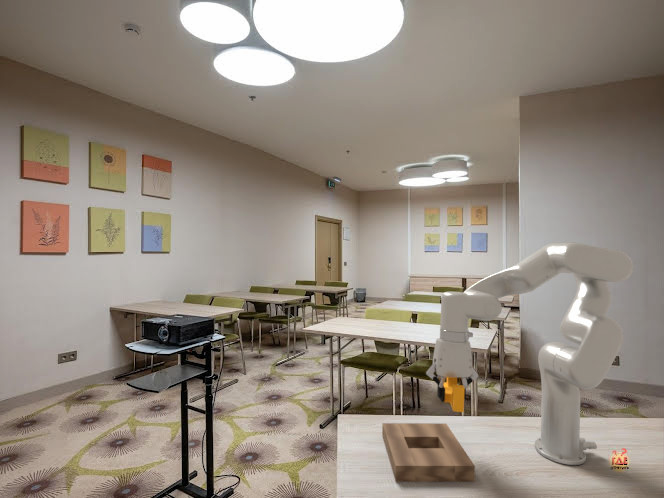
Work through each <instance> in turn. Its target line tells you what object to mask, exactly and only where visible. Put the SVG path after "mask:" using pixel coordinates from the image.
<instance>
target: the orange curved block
mask: <svg viewBox="0 0 664 498" xmlns="http://www.w3.org/2000/svg"><path fill="white" fill-rule="evenodd" d="M444 388H445V402H444V403H449V404H450V407H451V409H452V411H453V412H458V413H465V412H464V410H465V409H464V408H465V398H464V390H465V388H464V386H463V385H459V384H458V378H452V377H446V382H444Z"/></svg>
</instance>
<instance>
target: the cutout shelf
mask: <svg viewBox="0 0 664 498" xmlns="http://www.w3.org/2000/svg"><path fill="white" fill-rule="evenodd" d="M381 425H382V426H381V427H382V433H381V434H382V435H381V436H382V439H383V444H384V447H385V449H386V453H387V457H388V460H389V463H390V467H391V470H392V473H393V476H394V477H393V478H394V481H395V483H396V482H397V483H398V482H409V483H410V482H415V483H416V482H417V483H418V482H421V483H423V482H427V483H428V482H430V483H431V482H436V483H437V482H441V483H443V482H445V483H446V482H447V483H449V482H454V483H455V482H459V483H460V482H462V483H463V482H466V483H470V482H471V483H473V482H475V479H476V477H475V476H476V475H475V473H476V472H475V471H476V468H475V467H476V465H475V464H474V462H473V461H472V459H471V458H470V457H469V455H468V454H467V452H466V451H465V449H464V447H463V446H462V445H461V443H460V442H459V440H458V439H457V437H456V435H455V434H454V433H453V431H452V429H450V427H449V425H448V424H447V423H436V422H435V423H433V422H432V423H429V422H428V423H417V422H416V423H412V422H411V423H410V422H409V423H408V422H407V423H406V422H405V423H404V422H401V423H397V422H395V423H394V422H393V423H392V422H388V423H387V422H385V423H382V424H381Z"/></svg>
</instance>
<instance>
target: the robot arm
mask: <svg viewBox="0 0 664 498" xmlns="http://www.w3.org/2000/svg"><path fill="white" fill-rule="evenodd" d="M633 270H634V263H633V260H632V259H631V257H630V256H629V255H628V254H626V253H625V252H623V251H619V250H616V249H610V248H605V247H602V246H601V247H600V246H598V245H597V246H595V245H592V244H587V243H582V242H551V243H548V244H546V245H544V246H542V247H541V248H539V249H538V250H536V251H534V252H533V253H531V254H530V255H528V256H527V257H525V258H524V259H522V260H520V261H519V262H518V263H516V264H514V265H513V266H511V267H508V268H506V269H503V270H500V271H499V272H497V273H494V274H491V275H489V276H487V277H485V278H483V279H481V280H479V281H477V282H476V283H474V284H472V285H471V286H470V287H468V288H466V289H465V290H464V291H463V292H462V291H445V292H443V293H442V295H441V302H440V303H441V304H440V327H439V338H436V341H435V344H434V349H433V357H432V364H431V365H430V367H429V368H428V369H427V370H426V372H425V375H426V376H427V377H429V378H430V379H431V380H432V381H434V383H436V385H437V392H436V394H437V397H438V399H439V400H440V401H441V403H446V402H445V388H444V383H446V380H447V377H452V378H457V379H458V381H459V384H458V385H463V386H464V388H465V390H464V399H466V397H467V388H468V387H469V386H470V384H472V383H473V381H475V380H476V379H477V378H479V373H478V372H477V371H476V369H475V367H473V354H472V345H471V343H470V342H471V341H469V340H470V339H471V338H473V336H474V333H473V332H470V331H469V326H470V325H469V324H470V323H469V321H470V319H471V320H472V319H473V320H477V321H485V322H487V321H488V322H489V321H493V320H496V319H497V318H499V316H500V315H501V314H502V310H503V307H502V303H501V301H500V300H499V299H501V298H505V297H507V296H515V295H522V294H527V293H531V292H533V291H535V290H537V289H538V288H540V287H541V286H542V285H544V284H545V283H548V282H549V281H551V280H552V279H554V278H555V277H556V276H559V275H560V274H562V273H563V274H564V273H565V274H572V275H573V276H574V278H575V281H576V293H575V295H574V298H573V300H572V302H571V303H570V305H569V307H568V309H567V311H566V313H565V315H564V317H563V318H562V321H561V322H560V325H559V333H560V334H561V335H562V336H563V338H565V339H566V340H568V341H570V342H571V343H574V344H577V345H579V347H578V348H577V347H574V346H573V345H569V344H566V343H564V342H559V341H550V342H547V343H545V344H544V345H543V346H541V348H540V349H539V352H538V356H537V357H538V358H537V359H538V361H537V362H538V367H539V372H540V379H541V380H540V381H541V382H540V383H541V384H540V385H541V400H540V401H541V405H540V418H541V419H540V438H537V439H535V441H534V449H535V450H536V452H538V453H539V454H540V455H541V456H543V457H545V458H546V459H548V460H550V461H553V462H556V463H560V464H563V465H571V466H578V465H583V464H584V463H586V460H587V455H586V453H585V451H586V450H597V449H598V445H597V443H596V442H595V441H587V440H586V438H584V437H581V436H580V435H581V427H580V426H581V392H580V389H583V390H591V389H595V388H596V387H598V386H599V385H600V384H601V383H602V382H603V381H604V380H605V378H606V375H607V374H608V372H609V370H610V369H611V366H612V365H613V363H614V361H615V359H616V358H617V356H618V353H619V351H620V349H621V347H622V346H623V340H624V334H623V329H622V327H621V326H620V324H619V323H618V322H617V321H616V320H615V319H613V318H611V317H608V316H607V313H608V311H609V309H610V306H611V303H612V292H611V289H610V287H609V284H608V282H609V283H619V282H624V281H625V280H627V279H628V278H629V277H630V276H631V275H632V274H633ZM434 373H436V375H437V376H436V375H435V374H434Z"/></svg>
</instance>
